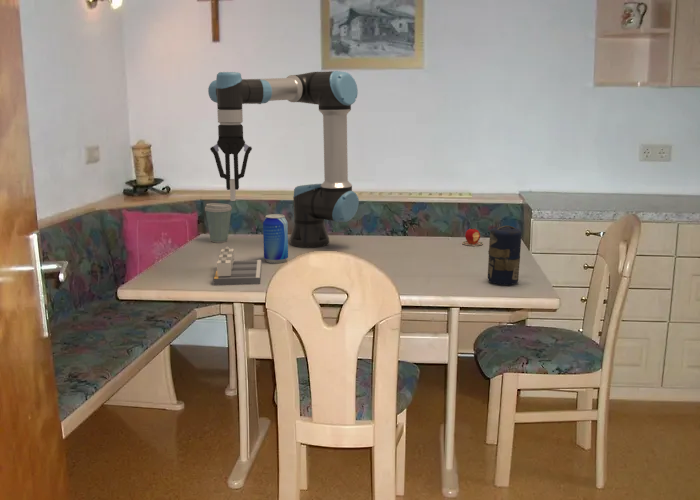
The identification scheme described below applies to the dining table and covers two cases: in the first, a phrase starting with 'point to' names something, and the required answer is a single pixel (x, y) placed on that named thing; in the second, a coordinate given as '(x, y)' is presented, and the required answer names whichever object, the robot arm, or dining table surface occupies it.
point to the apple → (472, 238)
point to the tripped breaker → (227, 256)
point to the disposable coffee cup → (218, 221)
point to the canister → (504, 255)
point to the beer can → (275, 238)
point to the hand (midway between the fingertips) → (233, 200)
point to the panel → (237, 271)
